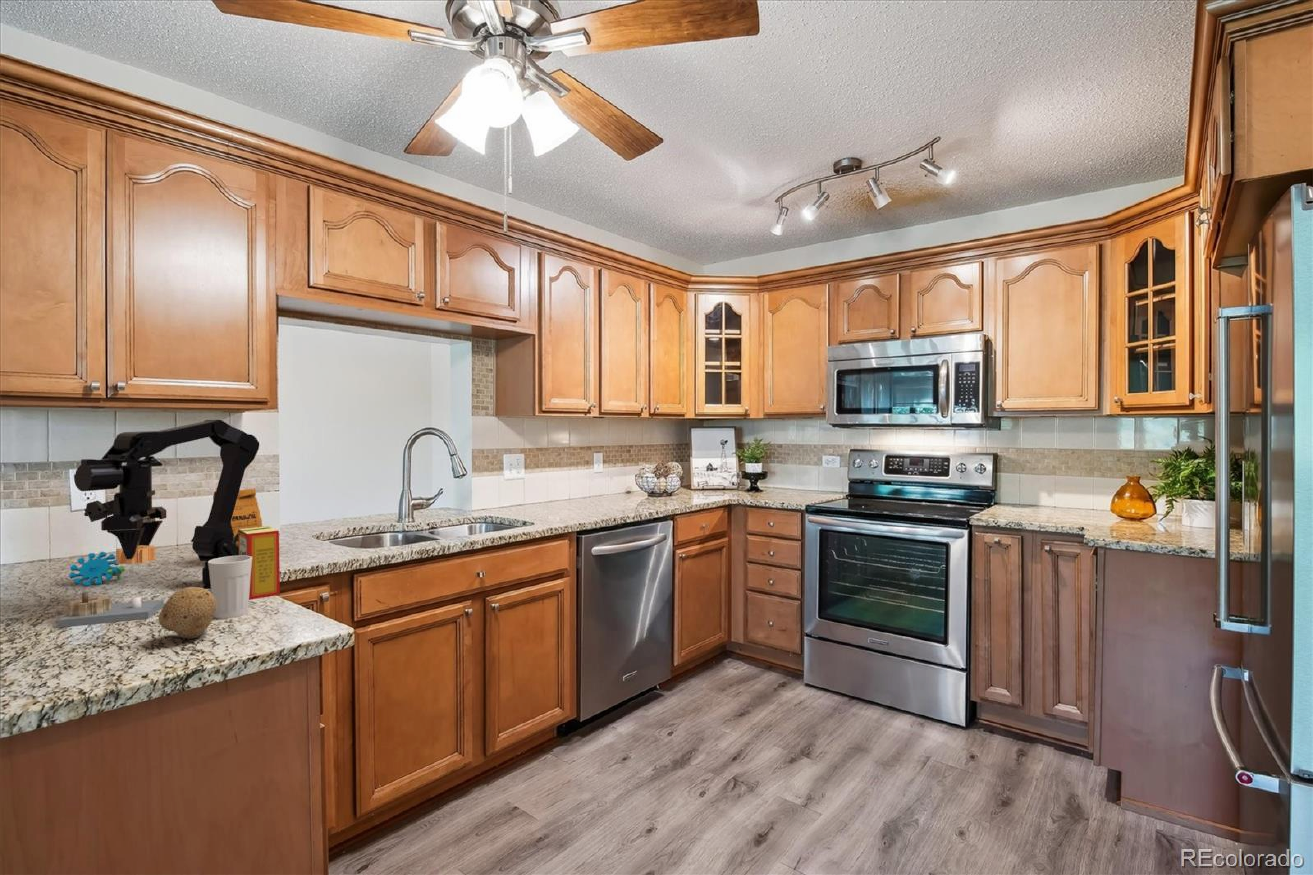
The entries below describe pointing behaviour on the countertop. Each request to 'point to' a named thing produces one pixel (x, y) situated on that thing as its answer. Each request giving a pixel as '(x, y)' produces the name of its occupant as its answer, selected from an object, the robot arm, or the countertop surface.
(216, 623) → the countertop surface
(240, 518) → the coffee package
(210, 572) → the cup
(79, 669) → the countertop surface
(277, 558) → the baking soda box
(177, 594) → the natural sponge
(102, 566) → the gear
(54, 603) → the countertop surface
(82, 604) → the birch gear
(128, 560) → the orange gear
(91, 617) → the gear board
